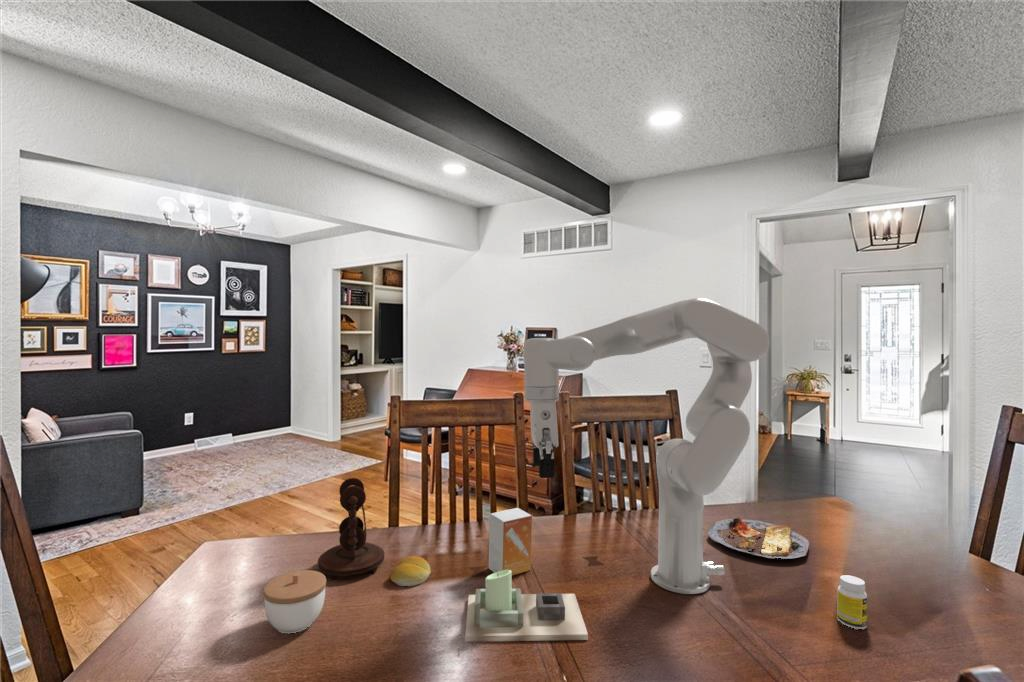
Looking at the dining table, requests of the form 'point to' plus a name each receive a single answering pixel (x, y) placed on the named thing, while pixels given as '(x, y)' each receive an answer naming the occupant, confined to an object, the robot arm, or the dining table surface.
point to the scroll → (351, 538)
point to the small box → (510, 541)
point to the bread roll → (411, 571)
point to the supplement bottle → (852, 602)
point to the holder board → (526, 618)
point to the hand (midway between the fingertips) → (543, 471)
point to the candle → (498, 591)
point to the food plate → (773, 537)
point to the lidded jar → (294, 600)
